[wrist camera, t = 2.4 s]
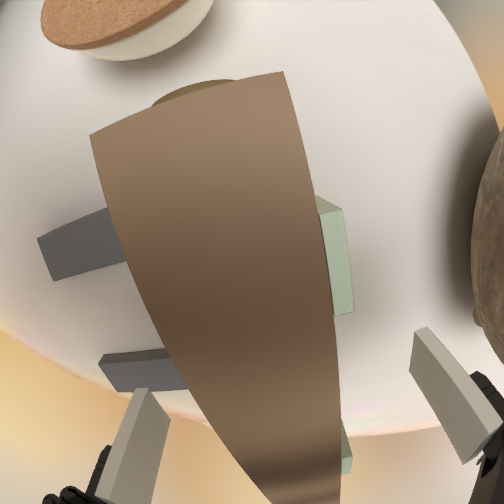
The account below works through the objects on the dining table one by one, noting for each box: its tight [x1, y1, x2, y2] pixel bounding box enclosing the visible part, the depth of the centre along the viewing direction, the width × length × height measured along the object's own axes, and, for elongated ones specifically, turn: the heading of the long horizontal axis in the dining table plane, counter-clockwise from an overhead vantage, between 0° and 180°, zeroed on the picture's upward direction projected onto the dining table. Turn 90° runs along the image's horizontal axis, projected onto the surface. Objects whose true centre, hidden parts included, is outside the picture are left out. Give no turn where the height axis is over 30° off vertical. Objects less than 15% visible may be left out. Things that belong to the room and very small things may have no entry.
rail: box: [89, 71, 341, 504], centre depth 10 cm, size 23×4×5 cm, turn 14°
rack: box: [314, 194, 354, 475], centre depth 15 cm, size 17×6×12 cm, turn 14°
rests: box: [37, 208, 188, 392], centre depth 20 cm, size 17×9×2 cm, turn 14°
